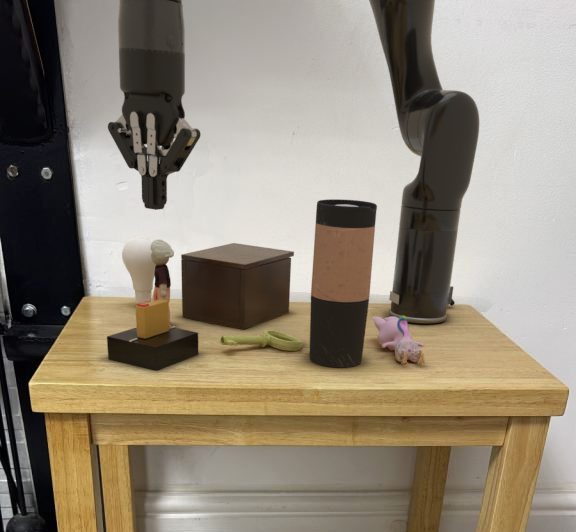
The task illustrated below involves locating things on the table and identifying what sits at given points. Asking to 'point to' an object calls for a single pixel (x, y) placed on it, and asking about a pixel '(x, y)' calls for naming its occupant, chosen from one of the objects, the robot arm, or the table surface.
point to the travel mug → (341, 281)
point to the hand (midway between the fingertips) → (154, 208)
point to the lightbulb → (140, 266)
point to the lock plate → (153, 348)
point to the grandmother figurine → (161, 271)
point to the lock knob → (152, 318)
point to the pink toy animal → (398, 339)
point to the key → (265, 340)
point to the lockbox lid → (237, 255)
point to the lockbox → (235, 293)
